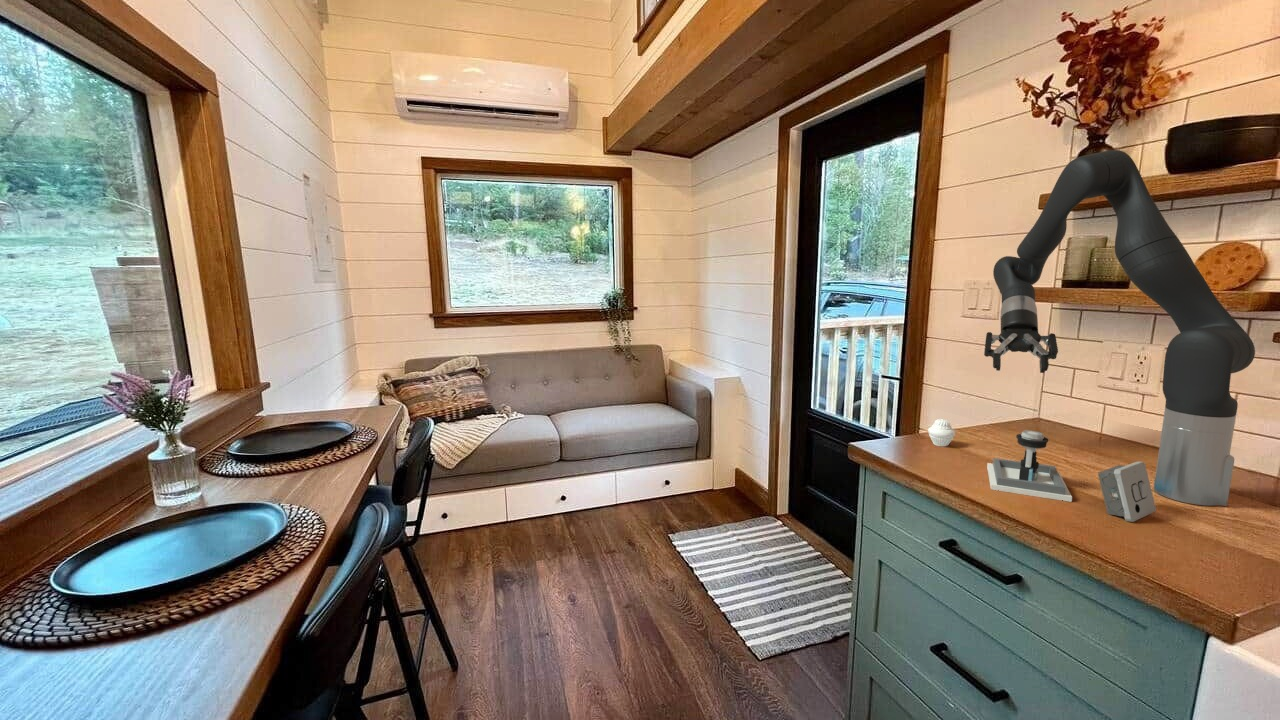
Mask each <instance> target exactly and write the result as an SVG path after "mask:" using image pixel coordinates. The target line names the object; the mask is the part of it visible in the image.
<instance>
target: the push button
mask: <svg viewBox="0 0 1280 720" xmlns="http://www.w3.org/2000/svg"><path fill="white" fill-rule="evenodd" d="M1016 439H1017V444H1018V445H1020V447H1023V448H1025V450H1024V456H1023V459H1021V460H1020V462H1021V464H1020V465H1021V468H1020V473H1019V480H1026V481H1032V480H1033V479H1034V477H1035V473H1036V474H1037V477H1036V480H1037V478H1038V472H1037V469H1038V467H1039V464H1040V463H1039V462H1038V461H1037V460H1038V459H1037V458H1038V457H1037V453H1038V452H1037V450H1042V449H1045V448H1046V447H1047V443H1048V442H1049V439H1048V438H1047V437H1045V436H1044V433H1042V432H1041V431H1040V432H1039V431H1037V430H1023V431H1022V432H1021V433H1019V434H1016Z"/></svg>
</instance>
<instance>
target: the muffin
mask: <svg viewBox="0 0 1280 720" xmlns="http://www.w3.org/2000/svg"><path fill="white" fill-rule="evenodd" d="M927 432H928V436H929V437H930V439H931V442H932V443H933V445H934V446H937V447H944V448H945V447H948V446H949V445H950V443H951V442H952V441H953V439H954V437H955V435H956V430H955V429H954V428H953V427H952V425H951V423H950V421H949V420H947V419H943V418H938V419H935V420H934V423H933V424H932V426H930V427H929V428H928V429H927Z"/></svg>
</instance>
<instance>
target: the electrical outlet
mask: <svg viewBox="0 0 1280 720" xmlns="http://www.w3.org/2000/svg"><path fill="white" fill-rule="evenodd" d="M1148 475H1149V474H1148V471H1147V466H1146V464H1145V462H1144V461H1135V462H1131V463H1130V464H1126V465H1119V464H1118V465H1115V466H1113V467H1110V468H1107V469H1104V470H1101V471H1099V472H1098V473H1097V476H1098V480H1099V483H1100V489H1101V491H1102V497H1103V500H1104V505H1105V509H1106V513H1107V515H1108V516H1109V515H1111V516H1118V517H1123V518H1124V520H1125V521H1126V522H1131V523H1134V522H1136V521H1138V520H1140V519H1142V518H1144V517H1147V516H1149V515H1150V514H1153V513H1155V512H1156V509H1157V508H1156V503H1155V499H1154V498H1155V497H1154V495H1153V491H1152V486H1151V482H1150V478H1149V476H1148ZM1110 489H1112V490H1110ZM1112 493H1113V494H1112Z"/></svg>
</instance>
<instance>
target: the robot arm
mask: <svg viewBox="0 0 1280 720" xmlns="http://www.w3.org/2000/svg"><path fill="white" fill-rule="evenodd" d="M1101 196H1103V197H1105V199H1106V200H1107V201H1108V203H1109V204H1110V205H1111V207H1112V209H1113V212H1114V213H1115V215H1116V218H1117V219H1116V221H1117V226H1116V232H1115V239H1114V254H1115V257H1116V259H1117V261H1118V262H1119V264H1120V265H1121V267H1122V268H1123V271H1124V272H1125V274H1126V276H1127V277H1128V278H1129V280H1130V282H1132V284H1134V285H1135V286H1136V287H1137V289H1139V290H1140V292H1142V293H1143V294H1145V295H1146V296H1147V297H1148V298H1149V299H1151V300H1152V301H1153V302H1154V303H1156V304H1157V306H1159V307H1161V308H1162V309H1163V311H1165V312H1166V313H1167V314H1168V316H1169V317H1170V319H1172V321H1173V323H1174V324H1175V326H1176V328H1177V329H1178V331H1179V333H1178V334H1176V335H1175V336H1173V338H1172V339H1171V340H1170V341H1169V343H1168V346H1167V348H1166V351H1165V354H1164V355H1165V356H1164V362H1163V363H1164V365H1163V375H1162V393H1163V395H1164V398H1165V407H1164V411H1163V412H1164V413H1163V421H1162V427H1161V434H1160V441H1159V448H1158V454H1157V462H1156V463H1157V464H1156V469H1155V470H1156V471H1155V476H1154V484H1153V490H1154V492H1155V493H1157V494H1159V495H1161V496H1163V497H1166V498H1168V499H1171V500H1175V501H1177V502H1182V503H1187V504H1192V505H1199V506H1210V507H1211V506H1223V507H1224V506H1225V507H1227V506H1228V501H1229V496H1230V489H1231V482H1232V477H1233V470H1234V465H1235V457H1234V456H1233V455H1231V449H1232V442H1233V436H1234V430H1235V424H1236V418H1237V413H1238V403H1239V402H1238V401H1237V400H1236V399H1235V398H1233V397H1232V396H1231V392H1230V388H1231V377H1232V374H1236V373H1239V372H1241V371H1244V370H1245V369H1247V368H1248V367H1249V366H1250V365H1251V364H1252V363H1253V361H1254V359H1255V355H1256V349H1255V344H1254V342H1253V340H1252V339H1251V337H1250V336H1249V334H1248V333H1247V332H1246V330H1244V329H1243V327H1242V326H1241V325H1240V324H1239V322H1237V320H1236V319H1235V318H1234V317H1233V316H1232V315H1231V314H1230V312H1229V311H1228V310H1227V309H1226V308H1225V306H1223V305H1222V303H1221V302H1220V301H1219V299H1218V298H1217V297H1216V295H1215V293H1214V291H1212V289H1211V288H1210V286H1209V284H1208V283H1207V281H1206V280H1205V277H1204V276H1203V275H1202V273H1201V272H1200V271H1199V268H1198V267H1197V266H1196V263H1194V260H1193V259H1192V257H1191V256H1190V254H1189V252H1188V251H1187V249H1186V248H1185V246H1184V244H1183V243H1182V242H1181V240H1180V239H1179V237H1178V236H1177V235H1176V233H1175V232H1174V231H1173V229H1172V228H1171V227H1170V226H1169V224H1168V222H1167V220H1166V219H1165V218H1164V216H1163V214H1162V211H1160V209H1159V207H1158V206H1157V204H1156V202H1155V201H1154V199H1153V198H1152V196H1151V194H1150V192H1149V190H1148V187H1147V186H1146V184H1145V181H1144V179H1143V177H1142V174H1141V173H1140V170H1139V168H1138V167H1137V165H1136V163H1135V162H1134V160H1133V158H1132V156H1130V155H1129V154H1128V153H1126V152H1125V151H1123V150H1119V149H1110V150H1105V151H1104V150H1103V151H1100V152H1095V153H1089V154H1085V155H1081V156H1078V157H1076V158H1074V159H1073V160H1071V161H1069V162H1068V163H1067V164H1066V166H1065V167H1064V168H1063V170H1062V172H1061V173H1060V175H1059V177H1058V178H1057V180H1056V183H1055V184H1054V187H1053V188H1052V190H1051V192H1050V195H1049V196H1048V199H1047V201H1046V203H1045V205H1044V207H1043V209H1042V211H1041V212H1040V215H1039V217H1038V219H1036V222H1035V223H1034V224H1033V226H1032V227H1031V229H1030V230H1029V232H1027V234H1026V235H1025V237H1024V238H1023V239H1022V240H1021V242H1020V244H1019V245H1018V247H1017V248H1016V254H1017V256H1012V255H1006V256H1003V257H1001V258H999V259H998V260H997V261H996V262H995V264H994V267H993V270H992V272H993V274H992V275H993V279H994V282H995V284H996V286H997V288H998V290H999V293H1000V296H1001V307H1000V316H999V319H1000V334H993V333H992V332H991V331H988V332H986V335H985V342H984V343H985V345H984V352H983V353H984V355H983V356H985V357H987V358H988V357H990V358H992V367H993V369H995V370H996V371H999V372H1000V371H1001V368H1002V367H1001V364H1002V363H1001V359H1002V358H1001V356H1002V355H1005V354H1006V353H1008V351H1009V352H1012V353H1013V352H1014V353H1016V352H1021V353H1027V352H1029V353H1031V355H1032V356H1034V357H1035V356H1036V357H1037V358H1038V359H1039V373H1041V374H1044V373H1045V372H1047V371H1048V369H1049V366H1050V365H1049V364H1050V363H1049V360H1056V359H1057V356H1058V353H1059V347H1058V342H1057V337H1056V334H1055V333H1049V334H1048V335H1041V334H1040V333H1039V322H1038V308H1037V305H1036V292H1035V288H1034V286H1033V285H1035V284H1036V283H1038V281H1039V280H1040V279H1041V276H1042V274H1043V270H1044V266H1045V264H1046V262H1047V260H1048V258H1049V257H1050V256H1051V254H1052V253H1053V252H1054V251H1055V249H1056V248H1057V247H1058V246H1059V245H1060V244H1061V243H1062V241H1063V240H1064V237H1065V235H1066V232H1067V219H1068V216H1069V214H1070V213H1071V212H1072V210H1074V208H1076V207H1077V206H1078V205H1079V204H1080V203H1081V202H1083V201H1084V200H1087V199H1094V198H1097V197H1098V198H1099V197H1101ZM996 341H998V342H999V343H1000V344H999V345H998V346H997V347H996V348H995V349H993V348H992V344H995V342H996ZM1040 342H1043V343H1044V345H1045V346H1047V347H1048V351H1047V350H1046V349H1045V348H1044V347H1043V346H1042V344H1041V343H1040Z"/></svg>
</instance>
